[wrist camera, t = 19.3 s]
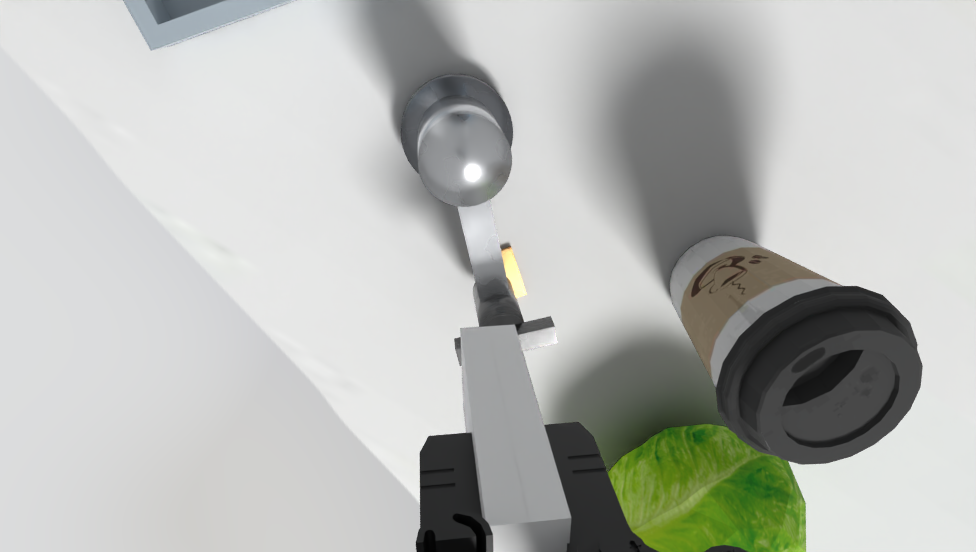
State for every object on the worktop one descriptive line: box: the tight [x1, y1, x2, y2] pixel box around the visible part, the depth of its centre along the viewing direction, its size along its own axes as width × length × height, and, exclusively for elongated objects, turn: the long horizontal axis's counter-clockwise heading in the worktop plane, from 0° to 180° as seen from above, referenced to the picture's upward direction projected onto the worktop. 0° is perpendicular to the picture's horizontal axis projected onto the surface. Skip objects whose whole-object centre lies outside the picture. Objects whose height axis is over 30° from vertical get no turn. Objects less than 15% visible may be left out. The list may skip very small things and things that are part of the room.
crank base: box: [401, 74, 527, 298], centre depth 39 cm, size 16×7×1 cm, turn 18°
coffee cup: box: [669, 236, 923, 464], centre depth 38 cm, size 11×11×15 cm
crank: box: [417, 95, 558, 366], centre depth 35 cm, size 15×6×8 cm, turn 12°
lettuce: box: [608, 424, 806, 552], centre depth 47 cm, size 15×20×14 cm
